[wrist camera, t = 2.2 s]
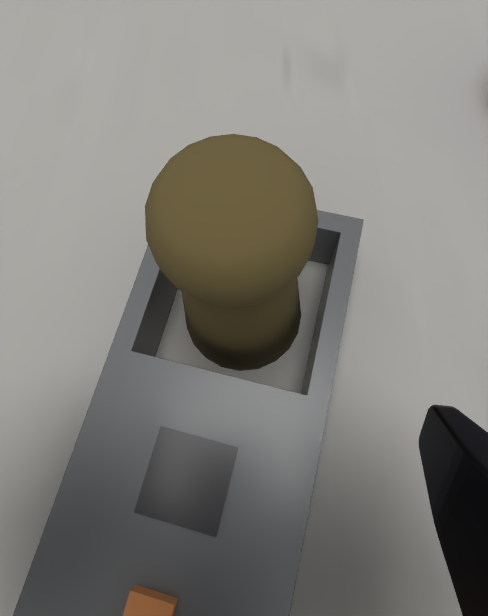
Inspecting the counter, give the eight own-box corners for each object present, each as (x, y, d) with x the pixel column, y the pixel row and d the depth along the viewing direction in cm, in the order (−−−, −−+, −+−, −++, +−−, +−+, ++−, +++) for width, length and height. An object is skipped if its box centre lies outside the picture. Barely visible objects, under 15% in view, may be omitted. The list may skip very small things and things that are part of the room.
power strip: (260, 700, 16) (260, 785, 12) (44, 626, 17) (-20, 682, 13) (347, 253, 22) (366, 212, 18) (184, 218, 23) (168, 173, 19)
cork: (200, 384, 20) (135, 324, 9) (175, 276, 22) (98, 127, 11) (316, 352, 20) (377, 260, 10) (281, 249, 22) (302, 78, 12)
